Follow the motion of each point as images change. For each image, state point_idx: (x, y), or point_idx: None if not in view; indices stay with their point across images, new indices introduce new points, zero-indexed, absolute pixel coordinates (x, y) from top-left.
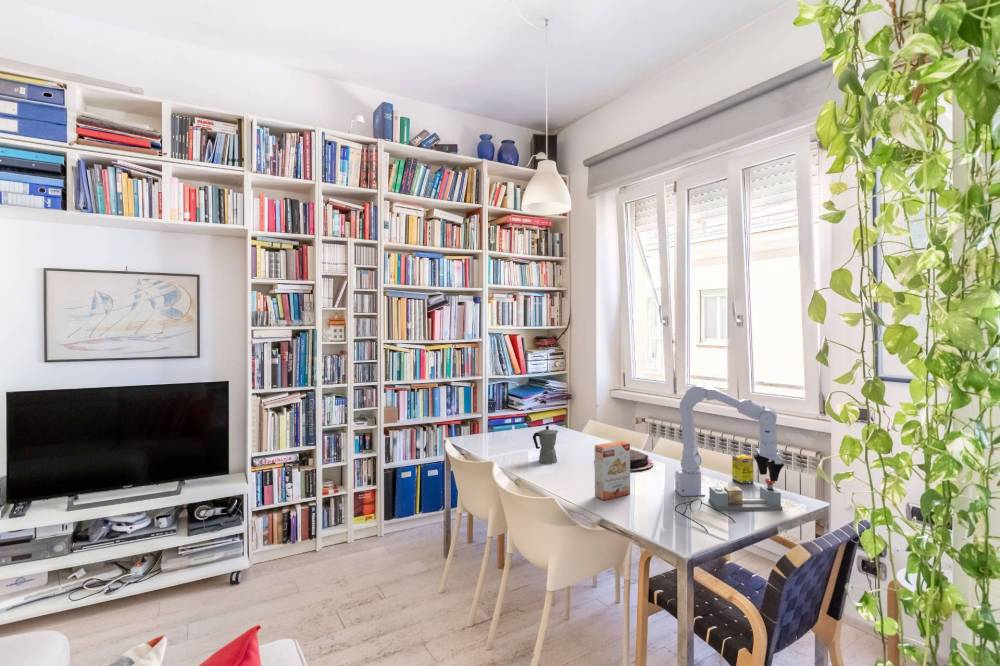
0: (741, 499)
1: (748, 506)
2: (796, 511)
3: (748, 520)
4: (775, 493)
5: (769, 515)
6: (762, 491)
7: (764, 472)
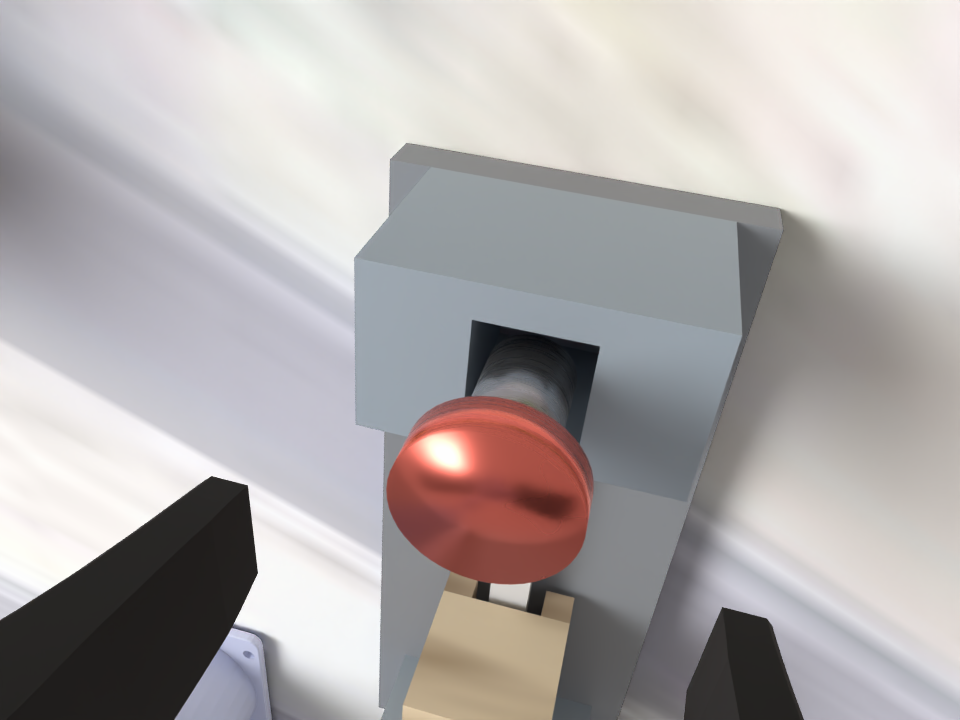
0: (564, 646)
1: (643, 578)
2: (917, 17)
3: (897, 706)
4: (711, 409)
5: (875, 475)
6: None
7: (222, 552)
